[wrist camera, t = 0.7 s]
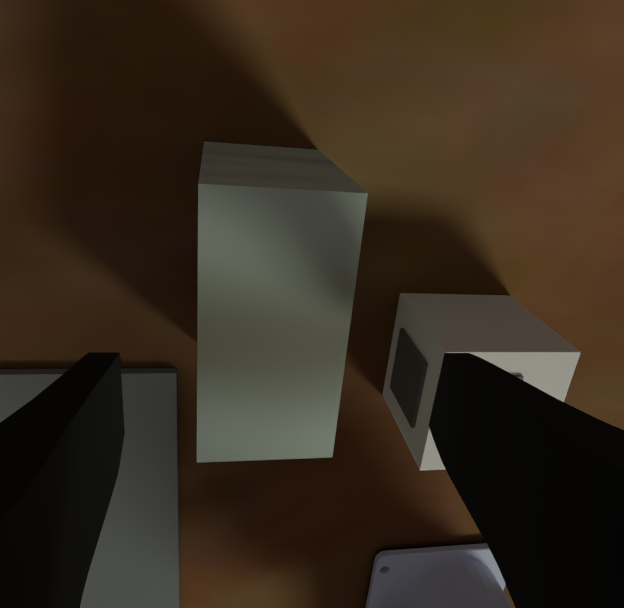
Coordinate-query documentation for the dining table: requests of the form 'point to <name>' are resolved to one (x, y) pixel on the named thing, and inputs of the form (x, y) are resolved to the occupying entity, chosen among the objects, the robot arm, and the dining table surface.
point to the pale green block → (273, 300)
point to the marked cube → (465, 339)
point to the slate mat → (129, 490)
